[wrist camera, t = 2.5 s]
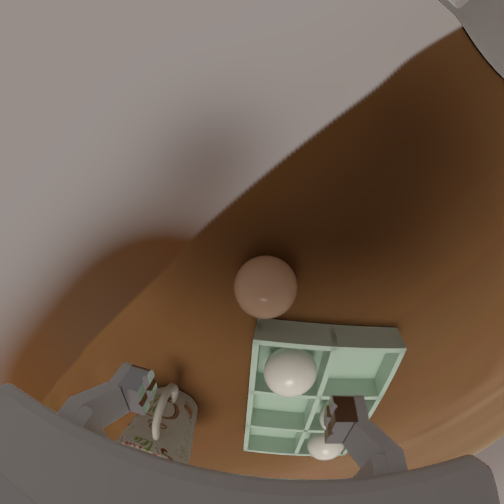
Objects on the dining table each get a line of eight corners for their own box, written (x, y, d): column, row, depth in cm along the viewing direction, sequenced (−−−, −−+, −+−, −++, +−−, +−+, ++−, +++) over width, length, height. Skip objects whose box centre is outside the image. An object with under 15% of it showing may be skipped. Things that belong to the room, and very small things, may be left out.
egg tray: (257, 317, 24) (253, 339, 21) (397, 327, 23) (406, 348, 20) (246, 432, 31) (243, 450, 28) (343, 437, 30) (344, 455, 27)
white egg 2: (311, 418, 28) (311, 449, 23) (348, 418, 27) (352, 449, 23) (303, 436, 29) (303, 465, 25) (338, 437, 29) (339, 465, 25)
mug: (147, 407, 32) (119, 462, 23) (142, 346, 27) (99, 412, 18) (204, 426, 32) (185, 486, 23) (215, 369, 27) (188, 448, 18)
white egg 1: (268, 332, 24) (263, 369, 19) (320, 337, 23) (324, 374, 19) (263, 368, 25) (258, 404, 21) (310, 373, 25) (312, 409, 21)
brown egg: (240, 243, 22) (228, 268, 17) (300, 249, 21) (302, 276, 17) (238, 295, 23) (227, 327, 19) (293, 301, 23) (293, 335, 19)
